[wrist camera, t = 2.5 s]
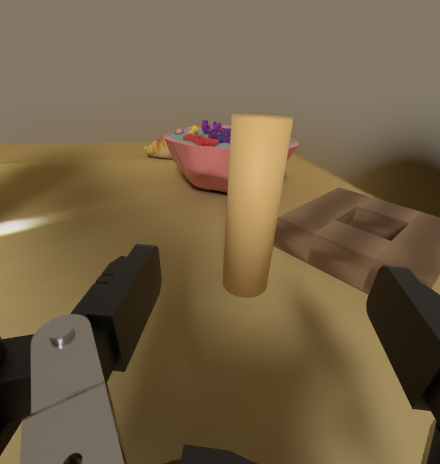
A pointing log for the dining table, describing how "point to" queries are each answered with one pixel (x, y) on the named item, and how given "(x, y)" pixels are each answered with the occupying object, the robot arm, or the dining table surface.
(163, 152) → the croissant
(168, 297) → the dining table surface
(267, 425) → the dining table surface
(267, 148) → the peg
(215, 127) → the cell model
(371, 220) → the hole block
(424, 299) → the robot arm
